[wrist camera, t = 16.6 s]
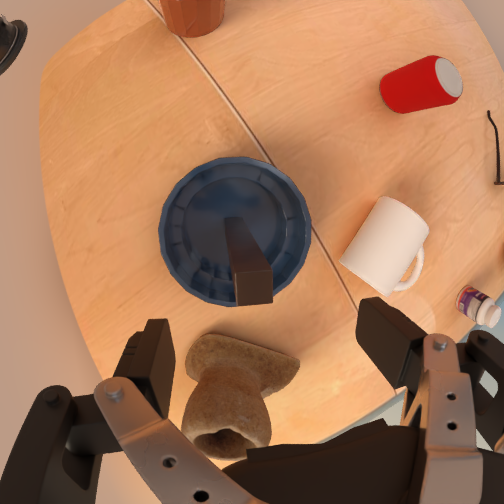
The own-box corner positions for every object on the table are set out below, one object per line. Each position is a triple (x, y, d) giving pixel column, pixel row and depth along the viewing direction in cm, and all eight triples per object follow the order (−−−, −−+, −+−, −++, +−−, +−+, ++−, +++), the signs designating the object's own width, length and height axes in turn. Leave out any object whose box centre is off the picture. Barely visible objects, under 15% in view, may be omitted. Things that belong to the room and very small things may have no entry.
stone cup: (173, 377, 38) (163, 456, 23) (203, 318, 36) (199, 400, 21) (260, 403, 41) (277, 476, 27) (298, 352, 39) (332, 426, 25)
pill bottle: (474, 287, 42) (506, 305, 33) (464, 311, 43) (494, 331, 34) (462, 283, 41) (496, 302, 32) (451, 308, 42) (483, 331, 33)
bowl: (176, 288, 34) (169, 311, 28) (164, 165, 30) (152, 163, 24) (294, 279, 36) (309, 299, 30) (294, 158, 31) (310, 156, 26)
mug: (329, 254, 35) (357, 275, 28) (369, 192, 34) (405, 199, 26) (383, 293, 38) (413, 317, 31) (418, 239, 37) (453, 254, 29)
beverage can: (368, 88, 30) (423, 64, 18) (390, 68, 29) (444, 44, 17) (395, 122, 31) (455, 112, 20) (415, 100, 31) (472, 88, 19)
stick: (225, 235, 32) (236, 306, 15) (224, 217, 31) (234, 272, 14) (242, 233, 32) (273, 303, 15) (241, 216, 32) (272, 269, 15)
